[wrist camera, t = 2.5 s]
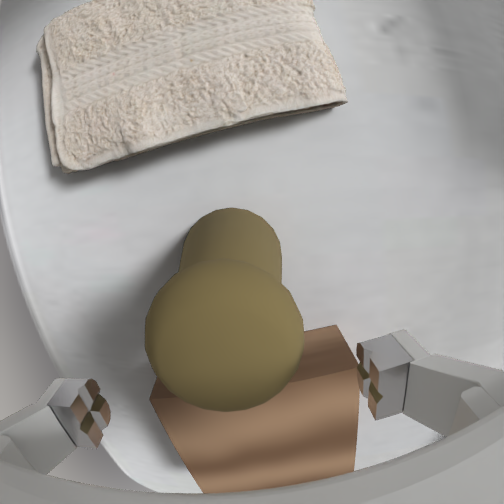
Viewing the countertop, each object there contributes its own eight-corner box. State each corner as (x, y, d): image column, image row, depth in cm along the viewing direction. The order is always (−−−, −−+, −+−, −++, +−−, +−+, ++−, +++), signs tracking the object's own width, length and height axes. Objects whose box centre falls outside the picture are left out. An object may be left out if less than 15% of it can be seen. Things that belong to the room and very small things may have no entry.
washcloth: (49, 39, 14) (27, 27, 11) (290, -36, 14) (296, -60, 11) (72, 185, 18) (47, 190, 15) (341, 109, 17) (359, 100, 14)
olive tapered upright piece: (185, 302, 19) (139, 430, 9) (180, 208, 18) (101, 265, 7) (279, 303, 20) (314, 433, 9) (283, 208, 18) (341, 266, 7)
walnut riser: (165, 352, 20) (149, 399, 16) (336, 324, 20) (360, 366, 15) (209, 453, 24) (205, 496, 19) (339, 433, 23) (353, 474, 19)
